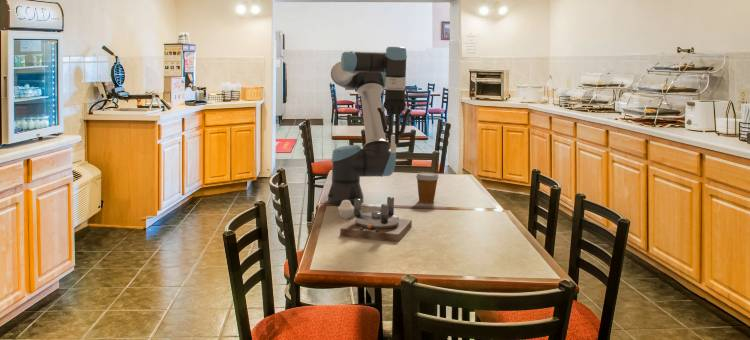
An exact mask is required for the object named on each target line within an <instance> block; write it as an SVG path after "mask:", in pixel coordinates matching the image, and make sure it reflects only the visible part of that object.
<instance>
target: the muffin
mask: <svg viewBox="0 0 750 340" xmlns="http://www.w3.org/2000/svg"><path fill="white" fill-rule="evenodd" d="M337 210H338V213H339V215H340V217H341V218H342V219H344V220H345V219H347V220H348V219H351V217H352V215H354V205H352V204H351V202H350V201H349V200H343V201H342V202H341V205H339V206H338V207H337Z"/></svg>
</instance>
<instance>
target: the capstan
mask: <svg viewBox="0 0 750 340" xmlns="http://www.w3.org/2000/svg"><path fill="white" fill-rule="evenodd" d="M353 207H354V211H353V217H354V218H355V217H356V220H355V223H356V225H358V226H360V227H364V228H370V229H377V228H379V229H388V228H394V227H397V226H398V225H399V219H400V216H398V215H396V214H395V197H394V196H388V197H387V199H386V204H385V203H383V204H380V211H372V212H365V213H364V212H363V213H362V203H361V199H354V205H353Z"/></svg>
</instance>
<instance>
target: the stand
mask: <svg viewBox="0 0 750 340" xmlns="http://www.w3.org/2000/svg"><path fill="white" fill-rule="evenodd" d="M355 220H356V217H354V218H352V219H351V220H350V221H348V222H347V223H346V224H344V225H343V226H342V227H340V229H339V236H340V237H346V238H359V239H367V240H375V241H377V240H378V241H386V242H396V243H397V242H398V243H399V242H400V240H401V239H402V238H403V237H404V236H405V235H406V234H407V233H408V232H409V230H410V229H411V228H412V227H413V226H412V225H413V224H412V223H413V220H412V219H403V218H399V225H398V226H397V227H394V228H388V229H379V228H377V229H370V228H364V227H360V226H358V225H356V223H355Z"/></svg>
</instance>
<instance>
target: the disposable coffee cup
mask: <svg viewBox="0 0 750 340" xmlns="http://www.w3.org/2000/svg"><path fill="white" fill-rule="evenodd" d="M415 178H416V180H417V181H416V183H417V190H418V191H417V192H418V202H420V203H422V204H423V203H424V204H431V203H434V202H435V198H436V190H437V184H438V180H439V176H438V173H436V172H430V171H423V172H422V171H421V172H417V173H416V176H415Z"/></svg>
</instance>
